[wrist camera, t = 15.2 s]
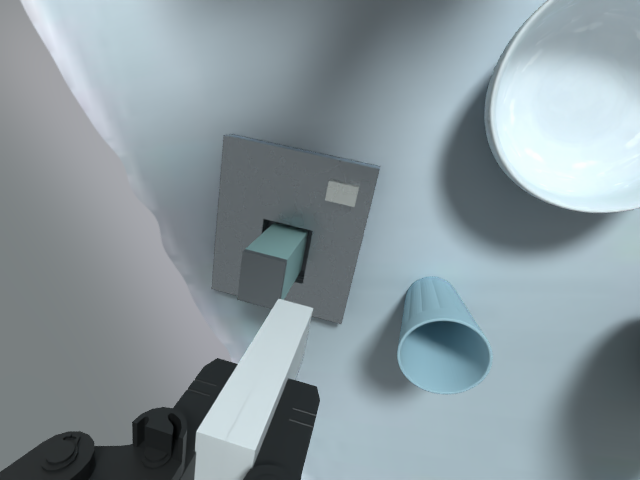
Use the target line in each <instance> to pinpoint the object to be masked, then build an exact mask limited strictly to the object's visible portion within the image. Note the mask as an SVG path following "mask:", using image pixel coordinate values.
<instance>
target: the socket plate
mask: <svg viewBox="0 0 640 480" xmlns="http://www.w3.org/2000/svg"><path fill="white" fill-rule="evenodd" d="M379 170H380V166H377V165H372V164H367V163H363V162H358V161H354V160H349V159H344V158H340V157H335V156H331V155H326V154H321V153H317V152H312V151H308V150H303V149H298V148H294V147H289V146H285V145H280V144H276V143H271V142H266V141H262V140H257V139H253V138H248V137H243V136H239V135H234V134H229V135H224V140H223V152H222V165H221V177H220V190H219V202H218V214H217V227H216V239H215V251H214V264H213V276H212V289H215V290H218V291H222V292H225V293H229V294H233V295H236V296H238V288H239V279H240V270H241V261H242V253H243V251H244V250H245V249H246V248H247V247H248V246H249V245H250V244H251V243H252V242H253V241H254V240H256V239H257V238H258V237H259V236H260V235H261V234H262V233H263V232H264V231H265V230H266V229H268V228H269V227H270V226H271V225H272V224H273V223H278V224H283V225H287V226H291V227H295V228H299V229H303V230H307V231H308V236H307V241H306V246H305V252H304V257H303V263H302V268H301V271H300V273H299V275H298V277H297V278H296V280H295V282H294V283H293V285H292V287H291V288H290V290H289V292H288V294H287V295H286V297H285V299H284V300H286V301H289V302H293V303H297V304H300V305H304V306H308V307H311V308H313V313H312V316H313V317H317V318H321V319H324V320H328V321H332V322H335V323H339V324H341V323H342V319H343V315H344V311H345V307H346V303H347V299H348V295H349V291H350V287H351V283H352V279H353V275H354V271H355V267H356V262H357V258H358V254H359V250H360V246H361V242H362V238H363V234H364V230H365V226H366V222H367V218H368V214H369V210H370V206H371V202H372V198H373V194H374V190H375V186H376V182H377V178H378V174H379Z"/></svg>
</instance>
